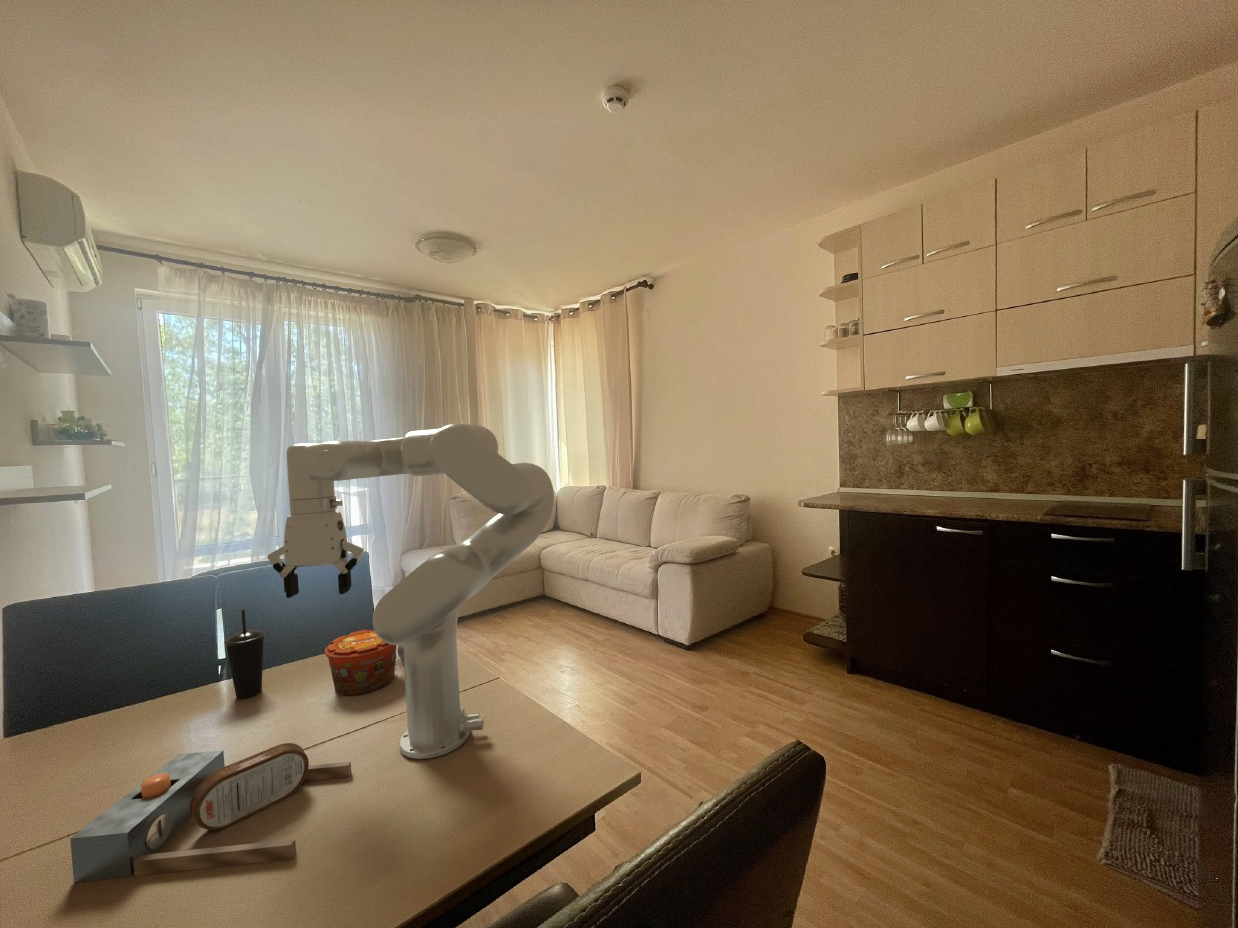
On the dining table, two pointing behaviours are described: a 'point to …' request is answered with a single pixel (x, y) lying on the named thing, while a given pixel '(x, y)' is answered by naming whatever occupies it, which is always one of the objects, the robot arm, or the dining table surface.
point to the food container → (361, 663)
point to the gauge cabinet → (140, 821)
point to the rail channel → (236, 852)
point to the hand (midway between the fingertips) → (318, 594)
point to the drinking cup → (246, 660)
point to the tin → (248, 786)
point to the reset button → (155, 785)
